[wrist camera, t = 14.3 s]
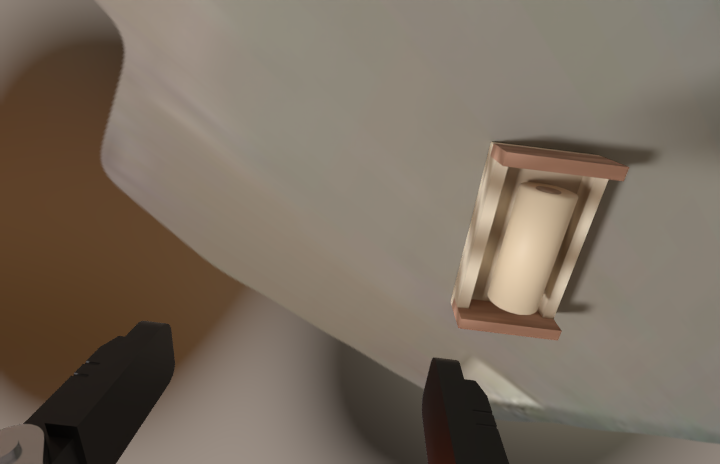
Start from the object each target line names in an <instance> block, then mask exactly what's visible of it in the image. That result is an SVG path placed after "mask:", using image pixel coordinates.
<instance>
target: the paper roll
mask: <svg viewBox="0 0 720 464" xmlns="http://www.w3.org/2000/svg"><path fill="white" fill-rule="evenodd" d="M577 200H578V195H577V194H575V193H573V192H571V191H569V190H566V189H563V188H560V187H557V186H553V185H548V184H543V183H535V182H523V183H520V185H519V188H518V191H517V195H516V198H515V202H514V205H513V208H512V212H511V215H510V219H509V222H508V225H507V229H506V232H505V236H504V239H503V242H502V246H501V249H500V253H499V256H498V259H497V263H496V266H495V270H494V273H493V276H492V280H491V283H490V287H489V290H488V298H489V299H490V301H491V302H492V303H493V304H495V305H496V306H497V307H499V308H501V309H503V310H505V311H507V312H510V313H514V314H519V315H531V314H534V313H535V312H536V311H537V310H538V307H539V304H540V301H541V299H542V296H543V293H544V291H545V288H546V285H547V282H548V280H549V277H550V274H551V271H552V269H553V266H554V263H555V260H556V258H557V255H558V252H559V249H560V247H561V244H562V241H563V238H564V236H565V233H566V230H567V228H568V225H569V222H570V219H571V217H572V214H573V211H574V208H575V206H576V203H577Z"/></svg>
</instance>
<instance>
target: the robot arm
mask: <svg viewBox="0 0 720 464" xmlns="http://www.w3.org/2000/svg"><path fill="white" fill-rule="evenodd" d="M174 367H175V360H174V351H173V342H172V334H171V327H170V325H169V324H165V323H156V322H149V321H141V322H139V323H138V324H137V325H136V326H135V327H134V328H133V329H132V330H131V331H130V332H129V333H128V334H127V336H125V337H123V336H118V337H116V338H115V339H113V340H112V341H110V342H108V343H106V344H104V345H103V346H101V347H100V348H99V349H98V350H97V351H96V352H95V353H94V354H93V355H92V356H91V357H90V358H89V359H88V360H87V361H86V363H85V364H83V365H82V366H81V367H80V368H79V369H78V370H77V371H76V372H75V373H74V376H71V377H70V378H69V379H68V380H67V381H66V382H65V383H64V384H63V385H62V386H61V387H60V388H59V389H58V390H57V391H56V392H55V393H54V394H53V395H52V396H51V397H50V398H49V399H48V400H47V401H46V402H45V403H44V404H43V405H42V406H41V407H40V408H39V409H38V410H37V411H36V412H35V413H34V414H33V415H32V416H31V417H30V418H29V419H28V420H27V421H26V422H25V423H23V424H19V425H13V426H10V427H6V428H3V429H1V430H0V464H116V463H117V461H118V460H119V458H120V457H121V455H122V454H123V452H124V450H125V449H126V448H127V446H128V444H129V443H130V442H131V440H132V439H133V437H134V435H135V434H136V433H137V431H138V429H139V428H140V427H141V425H142V424H143V422H144V421H145V419H146V417H147V416H148V415H149V413H150V411H151V410H152V408H153V407H154V405H155V404H156V402H157V401H158V399H159V398H160V396H161V395H162V393H163V392H164V390H165V389H166V387H167V386H168V384H169V383H170V380H171V378H172V376H173V372H174ZM422 419H423V427H424V436H425V444H426V451H427V461H428V464H509V462H508V459H507V456H506V453H505V450H504V447H503V444H502V441H501V438H500V435H499V432H498V429H497V428H496V426H497V425H496V423H495V419H494V416H493V415H492V410H491V407H490V404H489V401H488V398H487V395H486V394H485V393H484V391H483V390H482V389H481V388H480V386H479V385H478V384H477V382H476V381H473V380H465V379H464V377H463V374H462V370H461V366H460V363H459V361H457V360H450V359H442V358H433V359H432V361H431V364H430V368H429V372H428V376H427V380H426V384H425V388H424V392H423V398H422Z"/></svg>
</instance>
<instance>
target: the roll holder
mask: <svg viewBox="0 0 720 464" xmlns="http://www.w3.org/2000/svg"><path fill="white" fill-rule="evenodd" d="M628 169H629V167H627V166H625V165H622V164H620V163H617V162H615V161H612V160H610V159H607V158H605V157H602V156H600V155H594V154H586V153H578V152H570V151H562V150H554V149H546V148H538V147H530V146H522V145H514V144H505V143H497V142H491V144H490V148H489V152H488V156H487V160H486V164H485V168H484V172H483V176H482V180H481V184H480V188H479V191H478V195H477V199H476V203H475V207H474V211H473V215H472V219H471V223H470V227H469V231H468V235H467V239H466V243H465V247H464V251H463V255H462V259H461V263H460V267H459V270H458V274H457V278H456V282H455V286H454V290H453V294H452V298H451V305H452V308H453V311H454V315H455V318H456V321H457V325H458V328H461V329H470V330H478V331H486V332H494V333H502V334H510V335H518V336H526V337H534V338H543V339H551V340H558V339H559V336H560V334H561V332H562V331H561V329H560V328H559V327H558V325H557V324H556V322H555V321H554V316H555V314H556V311H557V309H558V306H559V304H560V301H561V299H562V296H563V294H564V291H565V289H566V286H567V284H568V281H569V279H570V276H571V273H572V271H573V268H574V266H575V263H576V261H577V258H578V256H579V253H580V251H581V248H582V246H583V243H584V241H585V238H586V236H587V233H588V230H589V228H590V225H591V223H592V220H593V218H594V215H595V213H596V210H597V208H598V205H599V203H600V200H601V198H602V195H603V193H604V190H605V187H606V185H607V182H608V180H609V179H611V180H619V181H624V179H625V177H626V174H627V172H628ZM523 182H535V183H543V184H548V185H553V186H557V187H560V188H563V189H566V190H569V191H571V192H573V193H575V194H577V195H578V200H577V203H576V206H575V208H574V211H573V214H572V217H571V219H570V222H569V225H568V228H567V230H566V233H565V236H564V238H563V241H562V244H561V247H560V249H559V252H558V255H557V258H556V260H555V263H554V266H553V269H552V271H551V274H550V277H549V280H548V282H547V285H546V288H545V291H544V293H543V296H542V299H541V301H540V304H539V307H538V310H537V311H536V312H535V313H534V314H531V315H519V314H514V313H510V312H507V311H505V310H503V309H501V308H499V307H497V306H496V305H495V304H493V303H492V302H491V301H490V299H489V298H488V290H489V287H490V283H491V280H492V276H493V273H494V270H495V266H496V263H497V259H498V256H499V253H500V249H501V246H502V242H503V239H504V236H505V232H506V229H507V225H508V222H509V219H510V215H511V212H512V208H513V205H514V202H515V198H516V195H517V191H518V188H519V185H520V183H523Z"/></svg>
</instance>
